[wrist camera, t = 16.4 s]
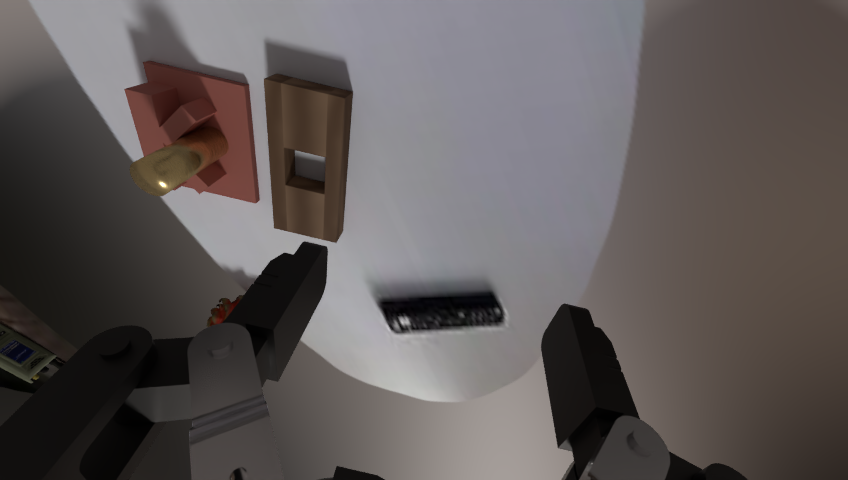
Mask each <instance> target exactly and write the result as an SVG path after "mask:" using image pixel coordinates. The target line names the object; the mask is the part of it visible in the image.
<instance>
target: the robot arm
mask: <svg viewBox="0 0 848 480" xmlns="http://www.w3.org/2000/svg"><path fill="white" fill-rule="evenodd" d="M327 255H328V249H327V247H326V246H322V245H318V244H314V243H309V242H303V243H302V244H301V245H300V247H299V248H298V250H297V251H296V252H295V254H294V255H292V254H288V253H283V254H281V255H280V256H278V257H276V258H275V259H273V260H271V261H270V262H269V264H268V265H267V266H266V267H265V269H264V270H263V271H262V273H261V275H259V276H258V278H257V279H256V280H255V282H254V284H252V285H251V287H250V288H249V289H248V291H247V292H246V293H245V295H244V296H243V297H242V298H241V300H240V301H239V302H238V304H237V305H236V306H235V307H234V309H233V310H232V311H231V313H230V314H229V315H228V316H227V318H226V319H225V320H224V321H223V322H222V323H220V324H216V325H212V326H210V327H207V328H206V329H204V330H202V331H201V332H199V333H198V334H197V335H196V336H195V337H190V338H175V339H155V340H153V339H152V336H151V334H150V333H149V331H147V330H146V329H144V328H142V327H138V326H120V327H116V328H112V329H109V330H106V331H104V332H102V333H100V334H98V335H96V336H95V337H93V338H92V339H90V340H89V341H88V342H87V343H86V344H85V345H84V346H83V347H81V348H80V349H79V350H78V351H77V352H76V353H75V354H74V355H73V356H72V357H71V358H70V359H69V360H68V361H67V362H66V363H65V364H64V365H63V366H62V367H61V368H60V369H59V370H58V371H57V372H56V373H55V374H54V375H53V376H52V377H51V378H50V379H49V380H48V381H47V382H46V383H45V384H44V385H42V386H41V387H40V388H39V389H38V390H37V391H36V392H35V393H34V394H33V395H32V396H31V397H30V398H29V399H28V400H27V401H26V402H25V403H24V404H23V405H22V406H21V407H20V408H19V409H18V410H17V411H16V412H15V413H14V414H13V415H12V416H11V417H10V418H9V419H8V420H7V421H6V422H5V423H4V424H3V425H2V426H0V480H129V479H130V477H131V475H132V474H133V473H134V471H135V470H136V468H137V466H138V465H139V463H140V462H141V460H142V459H143V457H144V456H145V454H146V453H147V451H148V450H149V448H150V447H151V445H152V444H153V442H154V441H155V439H156V437H157V436H158V434H159V433H160V431H161V430H162V428H163V427H164V425H165V424H166V422H167V421H173V420H182V419H191V418H192V421H193V425H192V428H191V429H190V433H189V444H190V459H191V473H192V474H191V475H192V480H284V477H283V473H282V468H281V465H280V459H279V455H278V451H277V447H276V442H275V437H274V433H273V429H272V424H271V420H270V416H269V411H268V407H267V403H266V401H265V399H264V395H263V390H262V387H263V385H264V383H265V381H266V379H269V380H273V381H279V379H280V377H281V375H282V373H283V371H284V369H285V367H286V365H287V364H288V362H289V360H290V357H291V356H292V354H293V351H294V350H295V348H296V346H297V344H298V342H299V340H300V338H301V336H302V335H303V333H304V331H305V329H306V327H307V325H308V323H309V321H310V319H311V317H312V315H313V313H314V311H315V309H316V307H317V305H318V304H319V302H320V300H321V298H322V295H323V293H324V290H325V286H326V278H327ZM541 350H542V357H543V362H544V368H545V374H546V380H547V386H548V391H549V398H550V404H551V410H552V416H553V421H554V427H555V433H556V439H557V445H558V448H560V449H564V450H568V451H572V452H573V457H574V461H573V462H572V463H571V465H570V466H569V468H568V469H567V471H566V473H565V474H564V476H563V478H562V480H747V479H746V478H745V477H744V476H742V474H740V473H739V472H737V471H736V470H734V469H733V468H731V467H729V466H726V465H723V464H719V463H718V464H717V463H715V464H711V465H709V466H708V467H706V468H704V469H703V470H702V469H700V468H699V467H697V466H695V465H693V464H691V463H689V462H687V461H686V460H684V459H682V458H680V457H678V456H676V455H675V454H673V453H671V452H669V451H668V449H667V446H666V445H665V443H664V441H663V440H662V438H661V437H660V436H659V435H658V433H657V432H656V431H655V430H654V429H653V428H652V427H651V426H649V425H648V424H647V423H645V422H644V421H642V420H640V418H639V416H638V412H637V410H636V407H635V404H634V402H633V399H632V396H631V394H630V391H629V388H628V386H627V383H626V380H625V377H624V375H623V373H622V372H621V367H620V364H619V361H618V360H617V359H616V358H617V356H616V353H615V351H614V348H613V345H612V343H611V341H610V340H609V339H608V337H607V336H606V335H605V333H604V332H603V331H602V329H601V328H598V327H595V326H594V323H593V320H592V318H591V315H590V312H589V310H587V309H585V308H581V307H577V306H573V305H568V304H562V305H561V306H560V308H559V309H558V311H557V313H556V314H555V316H554V317H553V319H552V321H551V322H550V324H549V326H548V327H547V329H546V330H545V332H544V335H543V338H542V343H541ZM319 480H384V479H383V478H381V477H379V476H377V475H373V474H369V473H365V472H360V471H356V470H351V469H347V468H343V467H339V466H337V467H336V470H335V473H334V477H333V478H324V479H319Z"/></svg>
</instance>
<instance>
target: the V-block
mask: <svg viewBox="0 0 848 480" xmlns="http://www.w3.org/2000/svg"><path fill="white" fill-rule="evenodd" d="M143 64H144V68H145V72H146V76H147V80H148V83H144V84H141V85H137V86H134V87H130V88H126V89H125V93H126V96H127V100H128V103H129V107H130V110H131V113H132V117H133V120H134V124H135V127H136V131H137V134H138V137H139V141H140V144H141V148H142V151H143V155H144V157H145V156H147V155H149V154H151V153H153V152H155V151H157V150H159V149H161V148H163V147H165V146H167V145H169V144H171V143H173V142H174V141H176V140H178V139H180V138H182V137H184V136H186V135H188V134H190V133H192V132H194V131H196V130H198V129H200V128H202V127H204V126H210V127H214V128H216V129H218V130H219V131H220V132H221V133H222V134H223V135H224V136H225V137H226V139H227V141H228V145H229V149H228V152H227V153H226V154H225V155H224V156H222V157H221V158H219V159H218V160H216V161H215V162H213V163H212V164H210V165H209V166H207V167H206V168H204V169H203V170H201V171H200V172H198V173H197V174H195V175H194V176H192V177H191V178H189V179H188V180H186V181H185V182H183V183H182V184H180V185H179V186H177V187H176V188H174V189H173V190H176V189H178V188H179V187H181V186H184V187H189V188H193V189H195V190H196V191H197V192H198V193H199V194H200V193H202V192H203V191H205V192H210V193H214V194H218V195H222V196H227V197H231V198H235V199H239V200H243V201H248V202H252V203H257V202H258V201H259V200H260V199H259V189H258V178H257V167H256V157H255V146H254V135H253V124H252V114H251V103H250V92H249V85H248V84H244V83H240V82H235V81H231V80H227V79H223V78H219V77H214V76H210V75H206V74H202V73H198V72H194V71H189V70H185V69H181V68H177V67H173V66H169V65H164V64H160V63H156V62H152V61H147V62H143Z"/></svg>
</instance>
